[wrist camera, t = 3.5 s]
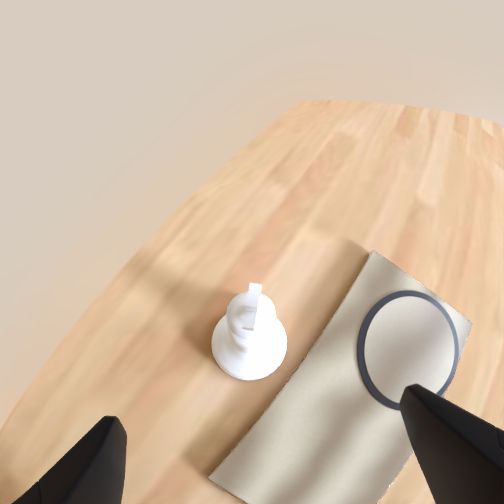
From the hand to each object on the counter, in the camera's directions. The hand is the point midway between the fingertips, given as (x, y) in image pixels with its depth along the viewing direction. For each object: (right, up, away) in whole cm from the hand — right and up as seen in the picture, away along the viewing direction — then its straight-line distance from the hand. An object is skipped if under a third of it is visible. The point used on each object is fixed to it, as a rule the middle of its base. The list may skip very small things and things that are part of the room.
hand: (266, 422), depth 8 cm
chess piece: (-1, -1, +12) cm, 12 cm away
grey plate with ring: (+7, -5, +10) cm, 13 cm away
